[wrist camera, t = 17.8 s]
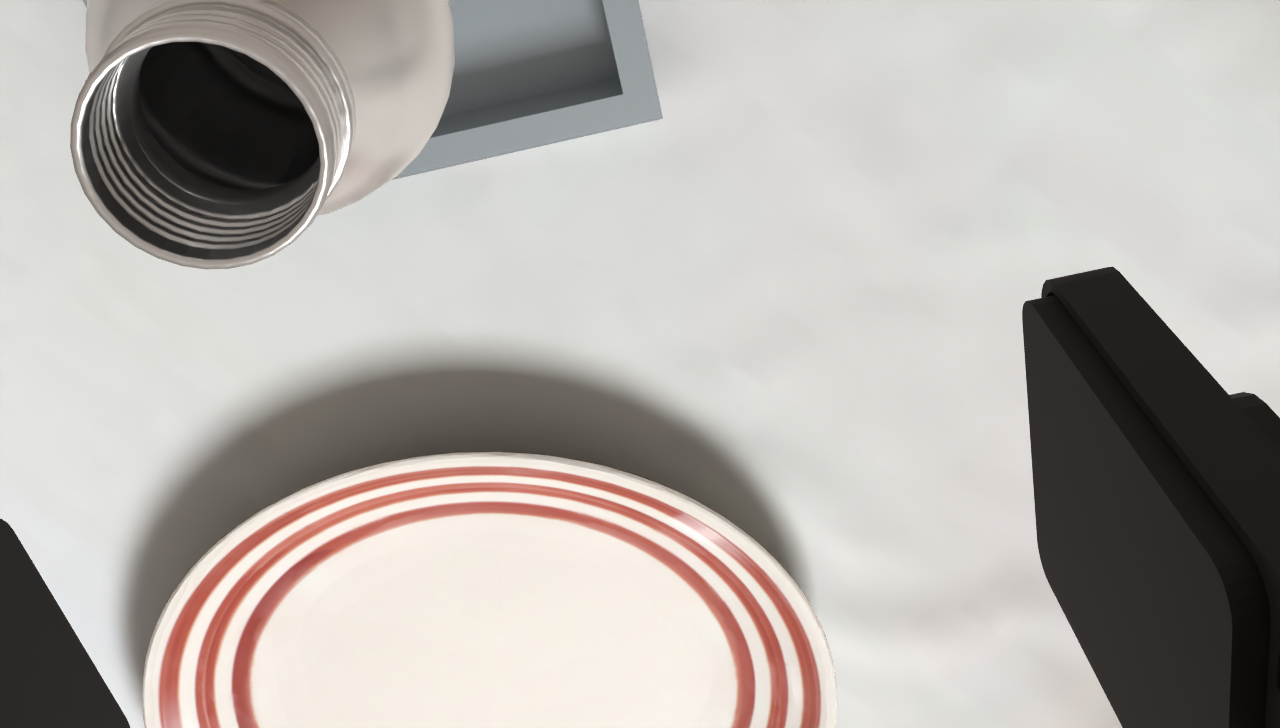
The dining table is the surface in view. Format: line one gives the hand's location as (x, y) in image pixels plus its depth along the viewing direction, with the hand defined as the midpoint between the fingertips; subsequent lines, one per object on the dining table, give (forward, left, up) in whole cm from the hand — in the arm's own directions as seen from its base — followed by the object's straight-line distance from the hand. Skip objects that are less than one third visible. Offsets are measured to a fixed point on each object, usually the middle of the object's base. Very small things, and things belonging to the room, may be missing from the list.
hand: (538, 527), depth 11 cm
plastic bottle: (+2, +5, -28) cm, 29 cm away
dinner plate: (-29, +9, -29) cm, 43 cm away
